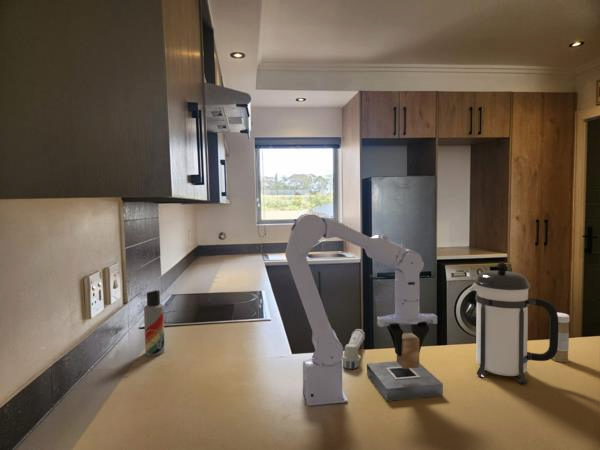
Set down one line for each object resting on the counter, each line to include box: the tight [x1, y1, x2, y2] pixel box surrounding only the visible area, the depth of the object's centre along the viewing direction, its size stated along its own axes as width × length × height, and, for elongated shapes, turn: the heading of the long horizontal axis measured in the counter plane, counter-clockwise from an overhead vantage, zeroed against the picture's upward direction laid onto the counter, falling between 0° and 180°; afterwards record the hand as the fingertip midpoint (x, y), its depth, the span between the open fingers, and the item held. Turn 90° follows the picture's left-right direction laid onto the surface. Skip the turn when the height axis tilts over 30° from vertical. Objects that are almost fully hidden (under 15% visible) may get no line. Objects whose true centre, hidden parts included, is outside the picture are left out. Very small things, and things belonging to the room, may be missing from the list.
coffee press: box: [469, 262, 558, 386], centre depth 97 cm, size 17×16×30 cm
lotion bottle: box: [143, 289, 166, 357], centre depth 116 cm, size 6×6×20 cm
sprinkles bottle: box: [551, 311, 571, 363], centre depth 106 cm, size 5×5×14 cm
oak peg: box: [396, 332, 420, 369], centre depth 88 cm, size 4×4×7 cm
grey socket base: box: [366, 360, 444, 402], centre depth 93 cm, size 14×14×3 cm
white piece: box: [342, 328, 366, 370], centre depth 113 cm, size 5×7×25 cm
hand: (407, 353), depth 89 cm, fingers closed on oak peg, 4 cm apart
